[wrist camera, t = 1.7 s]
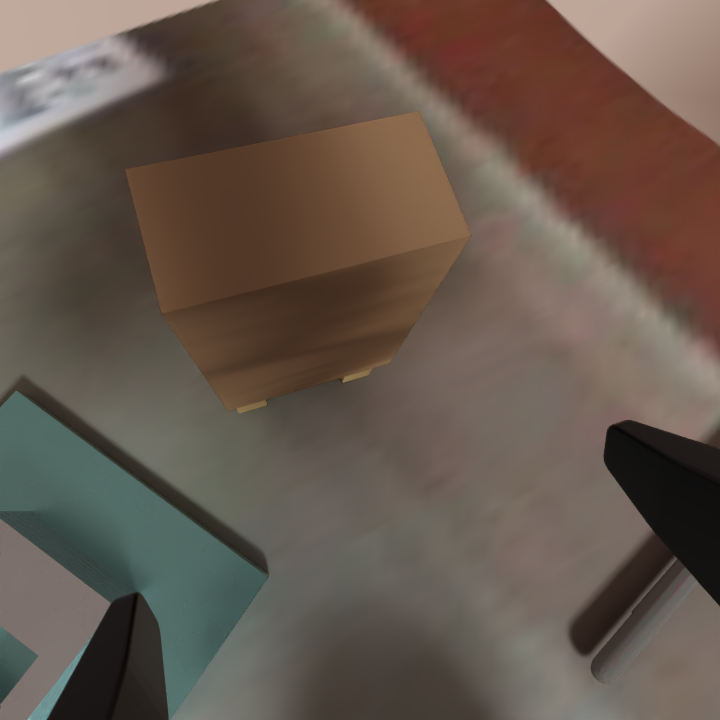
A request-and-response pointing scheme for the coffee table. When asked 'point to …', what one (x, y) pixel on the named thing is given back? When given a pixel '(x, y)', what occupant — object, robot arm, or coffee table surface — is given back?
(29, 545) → the teal holder base
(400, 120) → the tan cardboard brick
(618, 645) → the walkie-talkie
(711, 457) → the robot arm
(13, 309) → the coffee table surface
